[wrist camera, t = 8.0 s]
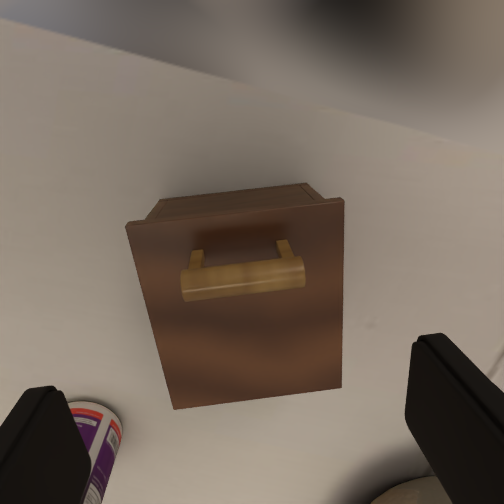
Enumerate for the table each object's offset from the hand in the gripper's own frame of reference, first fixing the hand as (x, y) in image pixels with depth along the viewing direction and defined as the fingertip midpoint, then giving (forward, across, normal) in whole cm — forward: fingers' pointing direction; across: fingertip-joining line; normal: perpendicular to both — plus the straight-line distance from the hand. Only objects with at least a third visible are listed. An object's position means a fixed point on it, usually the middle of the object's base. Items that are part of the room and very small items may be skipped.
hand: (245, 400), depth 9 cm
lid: (+13, 0, +6) cm, 14 cm away
